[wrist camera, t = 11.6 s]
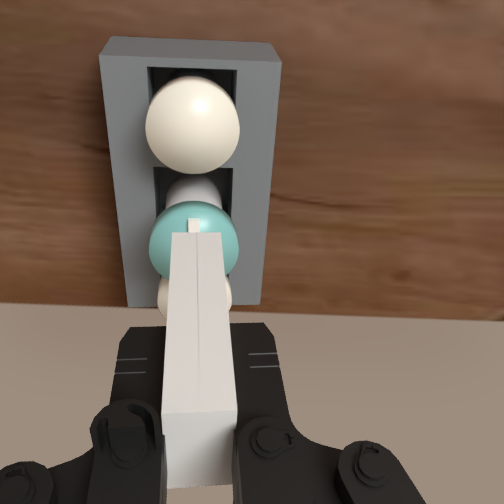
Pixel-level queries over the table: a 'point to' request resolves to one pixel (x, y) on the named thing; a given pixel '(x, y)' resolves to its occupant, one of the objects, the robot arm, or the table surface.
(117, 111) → the grey slotted rack
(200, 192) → the dial mid
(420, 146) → the table surface
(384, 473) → the robot arm
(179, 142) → the knob
